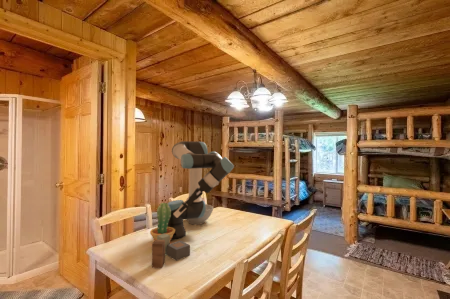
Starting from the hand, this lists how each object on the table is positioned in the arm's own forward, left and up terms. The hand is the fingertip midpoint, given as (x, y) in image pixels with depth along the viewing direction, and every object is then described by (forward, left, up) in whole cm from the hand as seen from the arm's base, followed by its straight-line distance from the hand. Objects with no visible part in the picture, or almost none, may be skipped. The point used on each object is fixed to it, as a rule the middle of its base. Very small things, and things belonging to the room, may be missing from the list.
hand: (178, 212), depth 118 cm
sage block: (-18, +4, -27) cm, 33 cm away
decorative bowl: (-46, +55, -28) cm, 77 cm away
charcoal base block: (-10, +8, -28) cm, 30 cm away
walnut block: (-8, -6, -27) cm, 29 cm away
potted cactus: (-30, +12, -28) cm, 43 cm away
